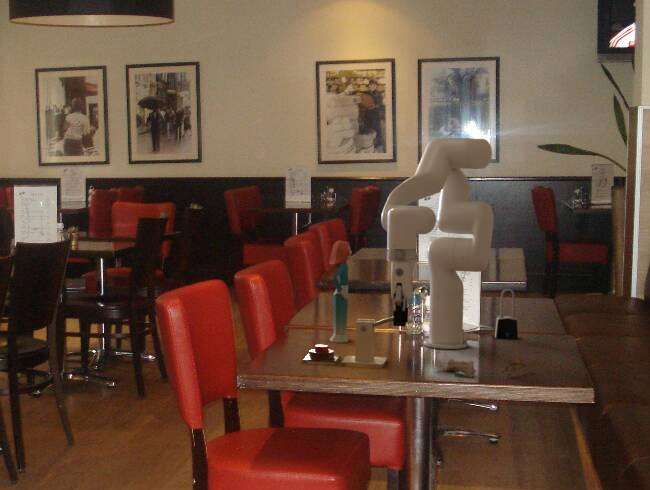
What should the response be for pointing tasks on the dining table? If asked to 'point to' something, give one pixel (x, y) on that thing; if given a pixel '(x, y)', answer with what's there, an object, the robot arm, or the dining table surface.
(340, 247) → the sculpture
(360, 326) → the bracket
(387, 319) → the lever
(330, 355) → the button box
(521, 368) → the fish
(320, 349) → the button
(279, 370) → the dining table surface
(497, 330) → the padlock
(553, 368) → the dining table surface
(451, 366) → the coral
